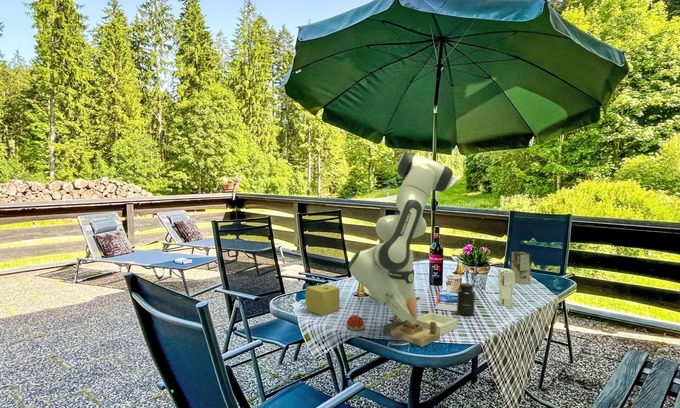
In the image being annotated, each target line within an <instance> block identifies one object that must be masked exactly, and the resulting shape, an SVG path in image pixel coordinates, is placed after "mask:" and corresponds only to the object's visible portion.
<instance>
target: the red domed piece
mask: <svg viewBox="0 0 680 408" xmlns="http://www.w3.org/2000/svg"><path fill="white" fill-rule="evenodd" d="M345 325H346V327H347V328H348V330H349V329H350V330H351V331H361V330H363V329H364V328H365V321H364V320H363V318H362V317H361V316H359V315H356V314H353V315H351V316H349V317H348V319H347V321H346V323H345Z"/></svg>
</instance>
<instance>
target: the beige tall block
mask: <svg viewBox="0 0 680 408" xmlns="http://www.w3.org/2000/svg"><path fill="white" fill-rule="evenodd" d="M515 284H516V282H515V271H513V270H511V269H507V268H500V269H498V273H497V287H498V293H499V294H498V295H499V296H498V300H497V304H498V305H500V306H503V307H513V306H514V303H513V293H514V289H515Z"/></svg>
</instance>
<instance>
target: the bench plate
mask: <svg viewBox="0 0 680 408" xmlns="http://www.w3.org/2000/svg"><path fill="white" fill-rule="evenodd" d="M382 328H383V329H382V330H383V331H382V333H383V335H385V336H388V337H389V336H392V337H395V338H397V339H400V340H402V341H405V342H407V343H410V344H412V345H415V346H419V347H422V348H423V347H425V346H426V345H429V344H431V343H433V342H436V341H437V340H439V339H440V336H439V333H438V332H436V322H430V330H429V329H425V328H423V326H421V325H418V324H416V328H415V329H410V328H407V320H405V321H404V322H403V321H401V320H400V319H397V320H395V321H392V322H388V323H386V324H384V326H383V327H382Z"/></svg>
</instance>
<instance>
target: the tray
mask: <svg viewBox="0 0 680 408" xmlns="http://www.w3.org/2000/svg"><path fill="white" fill-rule="evenodd" d="M416 321H417V322H416V324H418V325H421V326H423V328H425V329H429V330H430V322H436V332H438V333H439V337H441V336H443V335H444V334H445V335H446V334H447V333H449V332H451V331H452V332H453V331H454V330H456V329H458V319H456V318H452V317H449V316H445V315H441V314H438V313H435V312H432V311H431V312H429V313H427V314H423V315H420V316H416Z"/></svg>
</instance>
